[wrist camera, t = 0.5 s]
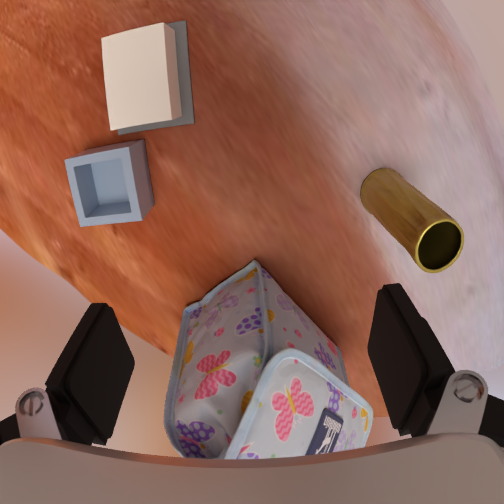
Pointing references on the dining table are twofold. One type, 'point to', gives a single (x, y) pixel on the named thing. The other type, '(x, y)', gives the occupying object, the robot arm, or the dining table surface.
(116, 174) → the open box
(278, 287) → the lunch bag
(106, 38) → the lid
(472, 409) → the robot arm
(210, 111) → the dining table surface
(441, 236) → the vase
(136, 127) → the mat
